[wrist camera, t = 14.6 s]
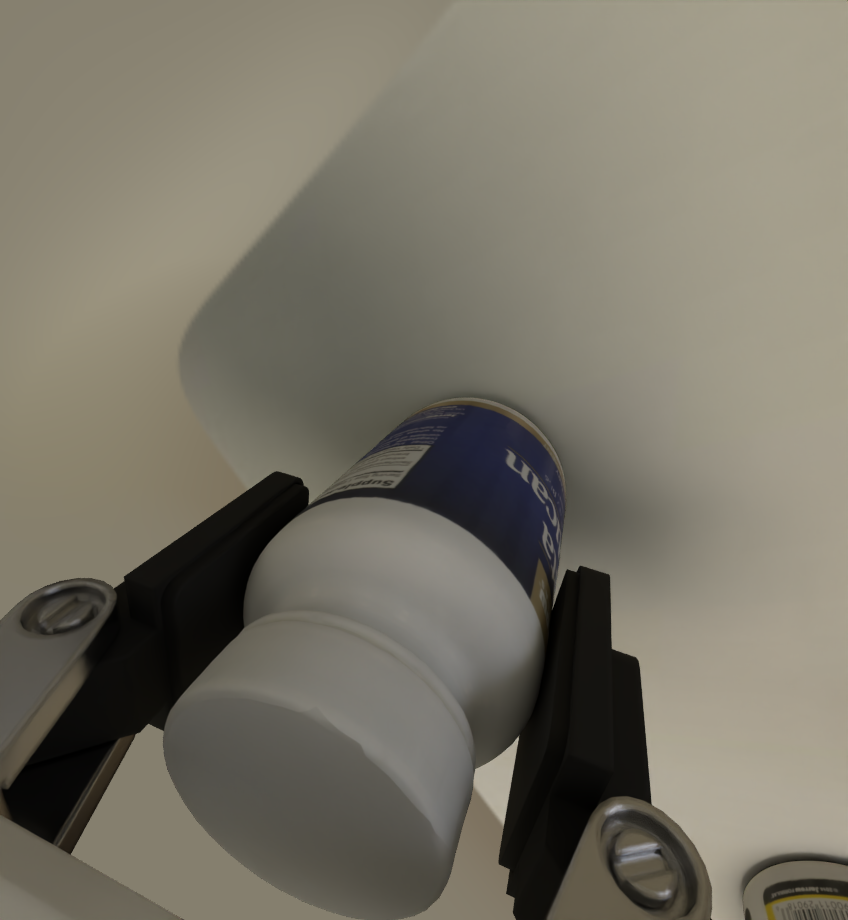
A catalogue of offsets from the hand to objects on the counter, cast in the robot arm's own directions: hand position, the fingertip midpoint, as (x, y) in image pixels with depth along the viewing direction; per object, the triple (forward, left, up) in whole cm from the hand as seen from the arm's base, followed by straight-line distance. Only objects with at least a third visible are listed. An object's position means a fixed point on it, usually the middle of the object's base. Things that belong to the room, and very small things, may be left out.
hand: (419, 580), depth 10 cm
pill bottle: (0, 0, -5) cm, 5 cm away
